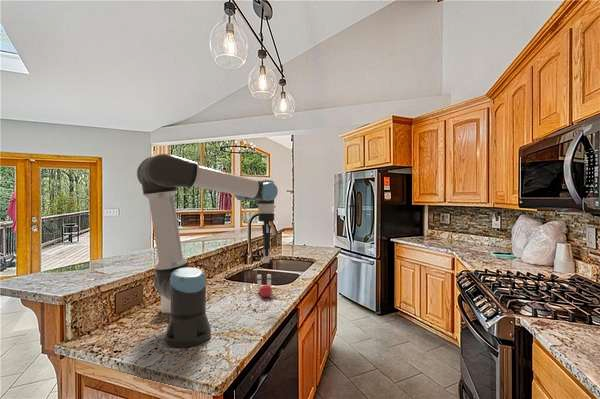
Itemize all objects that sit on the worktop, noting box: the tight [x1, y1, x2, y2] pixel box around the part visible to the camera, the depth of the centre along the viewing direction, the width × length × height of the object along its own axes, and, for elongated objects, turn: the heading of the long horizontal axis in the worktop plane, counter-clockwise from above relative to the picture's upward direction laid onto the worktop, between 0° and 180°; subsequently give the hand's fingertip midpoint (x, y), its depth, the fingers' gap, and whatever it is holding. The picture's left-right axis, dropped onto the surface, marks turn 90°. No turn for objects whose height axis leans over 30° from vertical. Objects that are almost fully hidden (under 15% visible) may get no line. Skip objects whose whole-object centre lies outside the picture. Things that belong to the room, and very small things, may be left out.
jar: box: [160, 294, 171, 314], centre depth 135 cm, size 9×8×12 cm
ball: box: [259, 284, 273, 298], centre depth 152 cm, size 6×6×6 cm
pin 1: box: [256, 274, 262, 294], centre depth 160 cm, size 2×2×9 cm
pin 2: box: [266, 273, 272, 288], centre depth 161 cm, size 2×2×9 cm
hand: (266, 262), depth 146 cm, fingers closed
